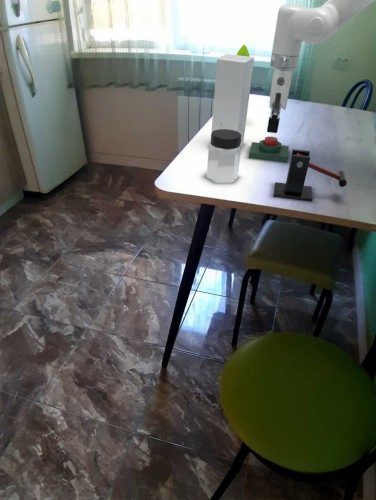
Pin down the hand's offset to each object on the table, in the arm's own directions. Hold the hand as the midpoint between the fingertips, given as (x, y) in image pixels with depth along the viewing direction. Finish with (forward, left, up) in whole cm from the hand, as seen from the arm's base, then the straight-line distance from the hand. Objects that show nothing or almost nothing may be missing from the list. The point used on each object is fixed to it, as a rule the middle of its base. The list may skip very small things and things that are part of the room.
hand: (272, 131), depth 127 cm
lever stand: (-8, +27, -7) cm, 29 cm away
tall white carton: (+14, -4, -8) cm, 16 cm away
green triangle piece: (+14, -29, -8) cm, 33 cm away
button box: (0, 0, -7) cm, 7 cm away
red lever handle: (-13, +27, -1) cm, 30 cm away
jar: (+12, +22, -8) cm, 26 cm away
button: (0, 0, -4) cm, 4 cm away
